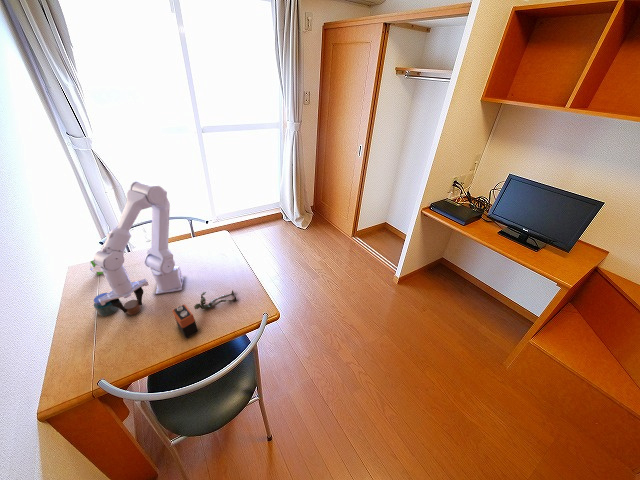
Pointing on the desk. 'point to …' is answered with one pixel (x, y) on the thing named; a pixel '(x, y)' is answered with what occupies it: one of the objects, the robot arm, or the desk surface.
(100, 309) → the ink bottle
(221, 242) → the desk surface
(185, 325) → the battery
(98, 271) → the geometric puzzle
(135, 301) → the brown short cylinder
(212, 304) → the zombie figurine
